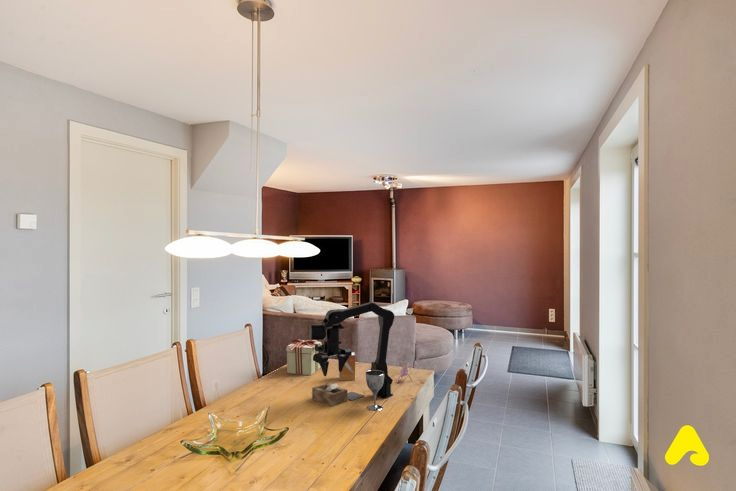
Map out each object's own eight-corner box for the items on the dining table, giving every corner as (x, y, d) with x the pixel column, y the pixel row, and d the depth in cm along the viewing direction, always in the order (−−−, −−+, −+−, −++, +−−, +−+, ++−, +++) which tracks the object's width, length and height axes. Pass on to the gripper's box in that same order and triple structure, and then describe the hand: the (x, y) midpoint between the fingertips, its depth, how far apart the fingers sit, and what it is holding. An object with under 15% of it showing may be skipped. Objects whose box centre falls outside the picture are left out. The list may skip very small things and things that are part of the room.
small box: (339, 380, 217) (339, 355, 217) (338, 377, 223) (338, 352, 223) (355, 380, 218) (355, 354, 218) (354, 376, 224) (354, 351, 224)
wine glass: (387, 407, 181) (388, 372, 181) (375, 413, 175) (375, 376, 175) (374, 402, 186) (374, 368, 186) (361, 407, 180) (361, 372, 180)
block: (338, 387, 188) (336, 383, 189) (331, 389, 186) (329, 385, 186) (328, 396, 193) (326, 392, 194) (321, 398, 190) (319, 394, 191)
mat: (364, 396, 194) (364, 395, 194) (352, 401, 188) (352, 400, 188) (352, 392, 200) (352, 391, 200) (339, 396, 194) (339, 395, 194)
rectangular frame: (347, 401, 188) (347, 389, 188) (332, 406, 182) (332, 395, 182) (327, 393, 197) (327, 383, 197) (312, 399, 191) (312, 387, 191)
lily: (404, 378, 226) (395, 362, 225) (422, 372, 220) (414, 357, 219) (396, 391, 215) (387, 375, 214) (415, 386, 209) (406, 369, 209)
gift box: (283, 375, 225) (283, 343, 225) (295, 366, 243) (295, 336, 243) (314, 377, 222) (314, 344, 222) (324, 367, 240) (324, 337, 240)
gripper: (335, 333, 201) (335, 366, 200) (304, 339, 187) (304, 374, 187) (352, 336, 193) (352, 371, 193) (321, 343, 179) (321, 380, 179)
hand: (332, 374), depth 188 cm, fingers open, 9 cm apart
